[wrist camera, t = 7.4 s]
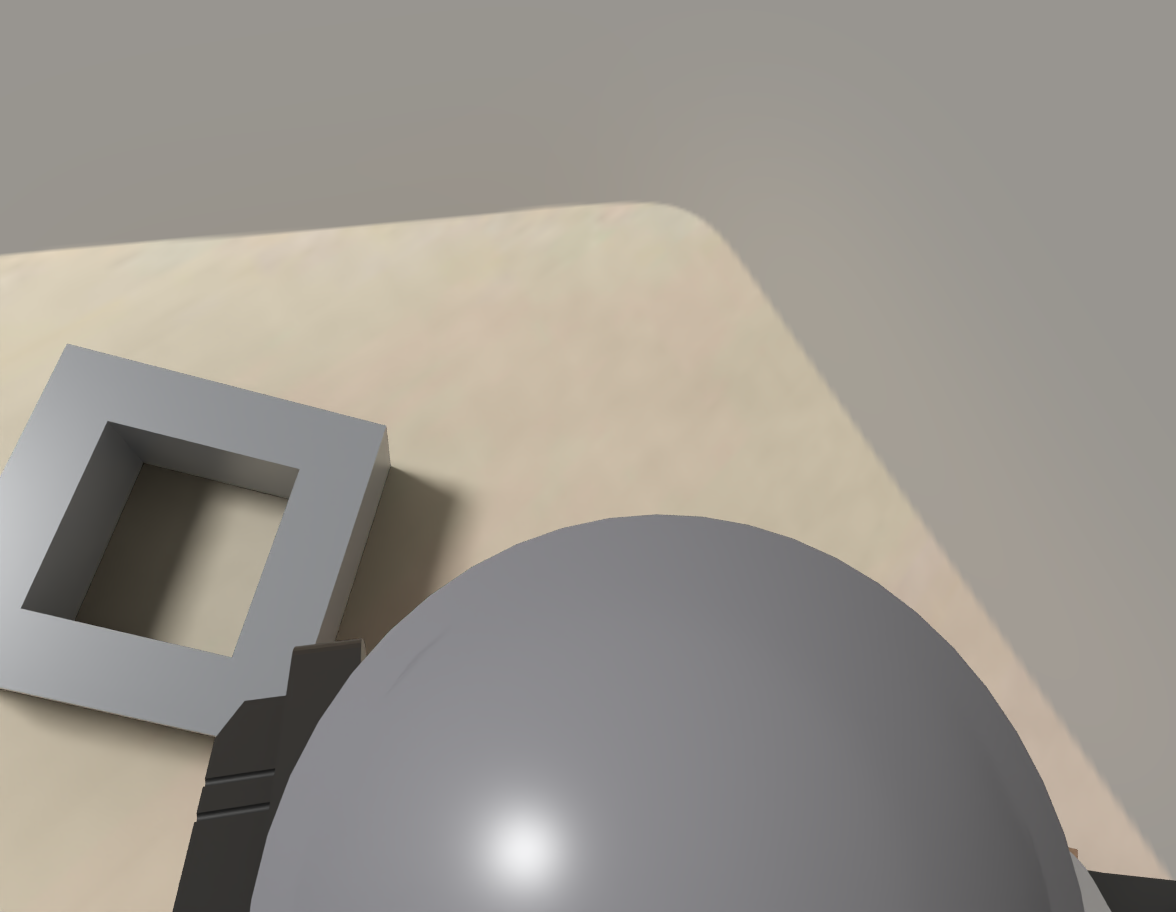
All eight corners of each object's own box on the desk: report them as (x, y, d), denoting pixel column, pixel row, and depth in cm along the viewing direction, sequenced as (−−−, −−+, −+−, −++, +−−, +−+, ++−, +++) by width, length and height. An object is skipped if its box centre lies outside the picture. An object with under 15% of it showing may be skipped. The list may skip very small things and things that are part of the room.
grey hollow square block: (-30, 682, 26) (-96, 665, 22) (106, 393, 29) (66, 343, 26) (298, 756, 26) (280, 750, 23) (390, 465, 30) (386, 425, 27)
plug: (345, 975, 13) (81, 1424, 4) (426, 671, 14) (392, 437, 5) (639, 1035, 13) (1110, 1594, 4) (685, 730, 15) (1085, 606, 6)
